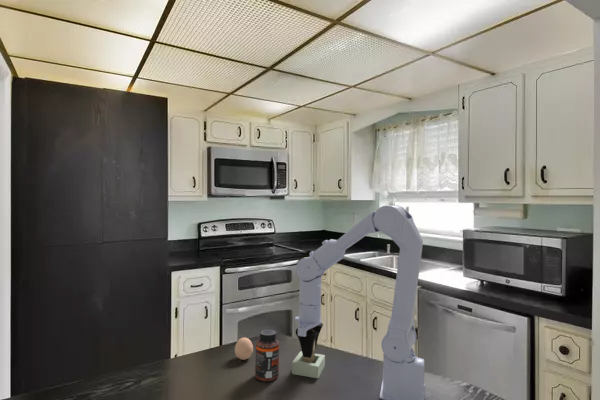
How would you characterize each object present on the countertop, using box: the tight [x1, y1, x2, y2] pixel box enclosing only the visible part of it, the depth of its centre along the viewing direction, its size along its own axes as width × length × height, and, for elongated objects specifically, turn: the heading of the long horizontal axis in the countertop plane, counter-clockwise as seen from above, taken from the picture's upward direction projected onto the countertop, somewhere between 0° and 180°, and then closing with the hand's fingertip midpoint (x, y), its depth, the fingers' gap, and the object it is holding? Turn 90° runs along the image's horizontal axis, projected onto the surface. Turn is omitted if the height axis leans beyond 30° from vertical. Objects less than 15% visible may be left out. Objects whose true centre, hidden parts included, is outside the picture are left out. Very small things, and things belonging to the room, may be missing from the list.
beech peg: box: [303, 330, 316, 364], centre depth 94 cm, size 3×3×9 cm
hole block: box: [291, 350, 326, 379], centre depth 94 cm, size 7×7×3 cm
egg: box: [234, 337, 254, 361], centre depth 99 cm, size 5×5×6 cm
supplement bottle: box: [254, 329, 280, 382], centre depth 90 cm, size 6×6×11 cm
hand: (309, 353), depth 94 cm, fingers closed on beech peg, 3 cm apart
